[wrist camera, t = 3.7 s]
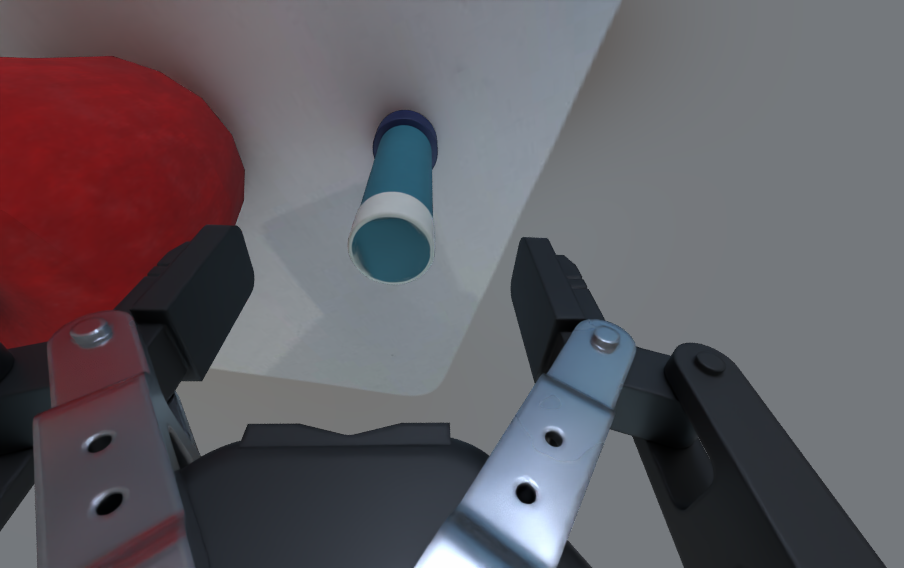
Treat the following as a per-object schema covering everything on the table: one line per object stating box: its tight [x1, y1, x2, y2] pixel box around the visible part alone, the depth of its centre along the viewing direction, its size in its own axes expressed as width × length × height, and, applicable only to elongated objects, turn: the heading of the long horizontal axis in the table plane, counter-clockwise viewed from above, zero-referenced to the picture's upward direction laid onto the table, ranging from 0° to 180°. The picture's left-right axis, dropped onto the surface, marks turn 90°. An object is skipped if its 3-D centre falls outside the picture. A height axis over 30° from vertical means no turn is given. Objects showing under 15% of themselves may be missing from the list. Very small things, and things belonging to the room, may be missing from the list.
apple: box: [0, 56, 245, 349], centre depth 15 cm, size 10×10×14 cm
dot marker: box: [348, 110, 438, 285], centre depth 16 cm, size 3×3×10 cm
